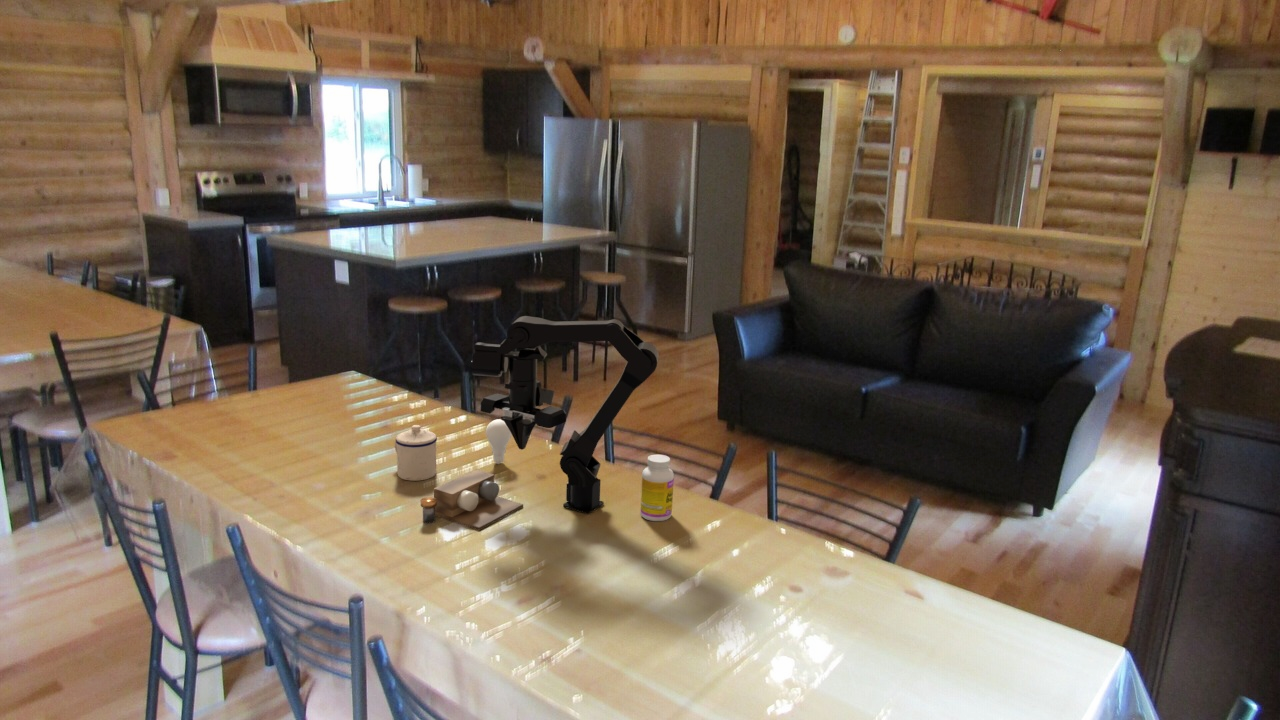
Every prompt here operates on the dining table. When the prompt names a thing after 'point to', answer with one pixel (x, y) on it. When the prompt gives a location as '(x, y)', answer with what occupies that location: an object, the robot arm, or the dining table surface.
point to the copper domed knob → (428, 509)
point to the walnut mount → (485, 508)
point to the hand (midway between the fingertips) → (522, 448)
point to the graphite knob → (488, 490)
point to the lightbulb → (498, 439)
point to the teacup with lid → (416, 454)
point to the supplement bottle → (657, 489)
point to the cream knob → (467, 500)
